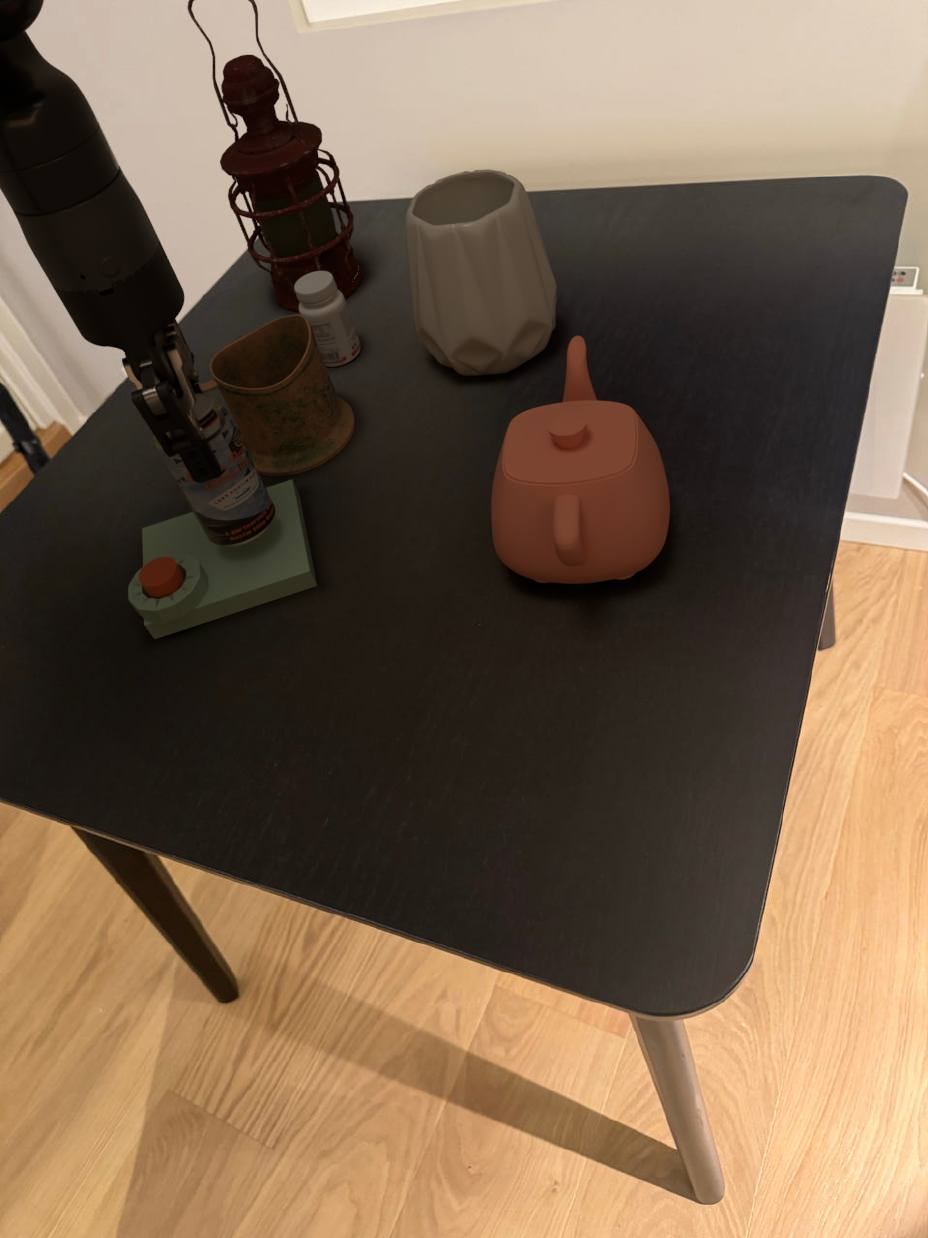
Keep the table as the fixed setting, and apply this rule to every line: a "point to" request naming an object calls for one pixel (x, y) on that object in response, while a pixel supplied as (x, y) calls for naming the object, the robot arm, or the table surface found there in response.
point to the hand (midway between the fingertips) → (206, 451)
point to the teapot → (579, 488)
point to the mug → (282, 397)
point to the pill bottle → (328, 317)
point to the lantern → (282, 181)
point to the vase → (479, 273)
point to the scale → (225, 567)
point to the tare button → (161, 577)
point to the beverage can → (224, 482)
